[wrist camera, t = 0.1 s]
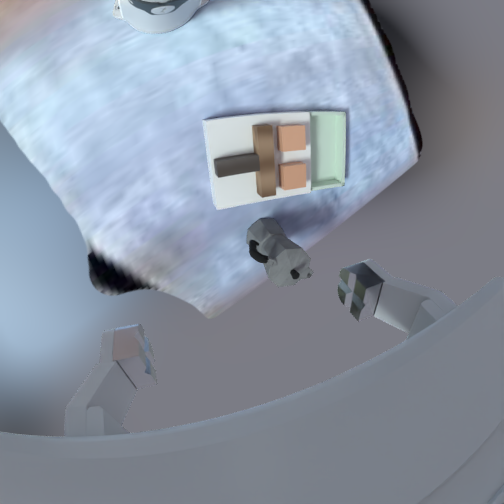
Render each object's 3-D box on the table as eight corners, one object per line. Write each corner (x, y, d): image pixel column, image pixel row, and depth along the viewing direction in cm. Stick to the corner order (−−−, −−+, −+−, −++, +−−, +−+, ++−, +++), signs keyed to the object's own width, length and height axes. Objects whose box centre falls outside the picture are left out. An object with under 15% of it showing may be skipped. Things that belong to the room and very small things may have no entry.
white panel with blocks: (202, 120, 49) (205, 121, 45) (299, 111, 53) (309, 112, 50) (213, 202, 58) (217, 210, 55) (301, 186, 63) (310, 192, 59)
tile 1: (276, 125, 49) (281, 126, 47) (299, 124, 50) (305, 125, 48) (277, 149, 52) (282, 152, 50) (299, 147, 53) (305, 149, 51)
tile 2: (278, 164, 54) (283, 166, 52) (300, 161, 55) (306, 163, 53) (279, 186, 56) (284, 190, 54) (300, 183, 57) (306, 187, 55)
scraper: (209, 130, 46) (212, 132, 44) (266, 124, 49) (272, 125, 46) (218, 200, 54) (221, 205, 51) (270, 190, 56) (276, 195, 54)
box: (299, 111, 53) (307, 111, 51) (336, 110, 56) (345, 112, 53) (301, 186, 63) (308, 191, 60) (336, 181, 65) (344, 185, 62)
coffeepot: (294, 227, 68) (332, 265, 53) (275, 258, 71) (308, 301, 56) (241, 204, 61) (271, 241, 46) (223, 240, 64) (245, 286, 49)
